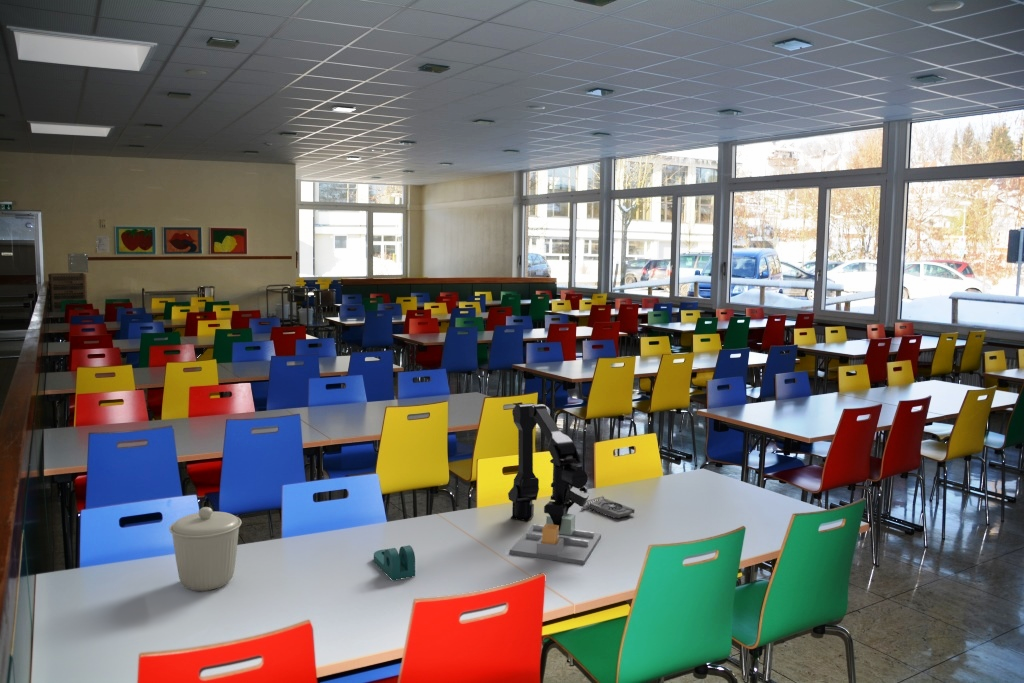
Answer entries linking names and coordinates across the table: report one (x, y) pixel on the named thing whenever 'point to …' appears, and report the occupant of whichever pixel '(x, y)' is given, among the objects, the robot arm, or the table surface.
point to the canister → (205, 548)
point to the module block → (565, 523)
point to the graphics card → (608, 507)
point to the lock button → (550, 534)
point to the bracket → (396, 562)
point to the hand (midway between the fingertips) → (560, 527)
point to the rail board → (557, 545)
